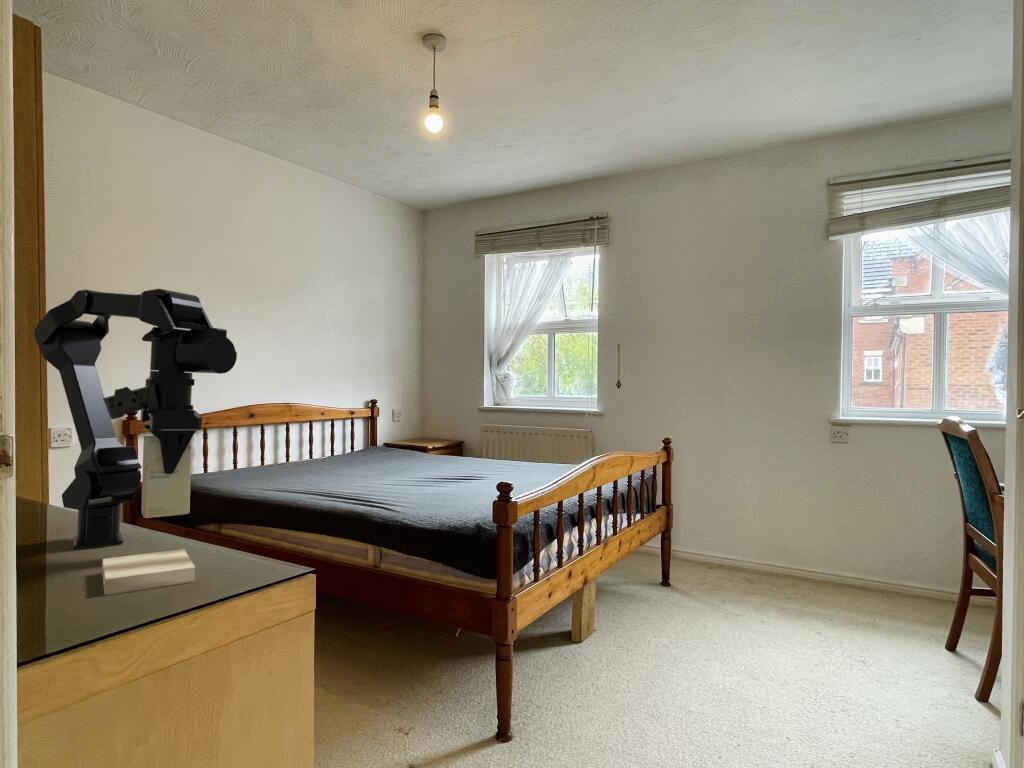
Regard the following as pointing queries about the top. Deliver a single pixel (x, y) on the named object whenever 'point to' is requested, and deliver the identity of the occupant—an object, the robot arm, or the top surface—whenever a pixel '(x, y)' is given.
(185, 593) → the top surface
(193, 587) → the top surface
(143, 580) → the birch plinth
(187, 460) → the skincare box
